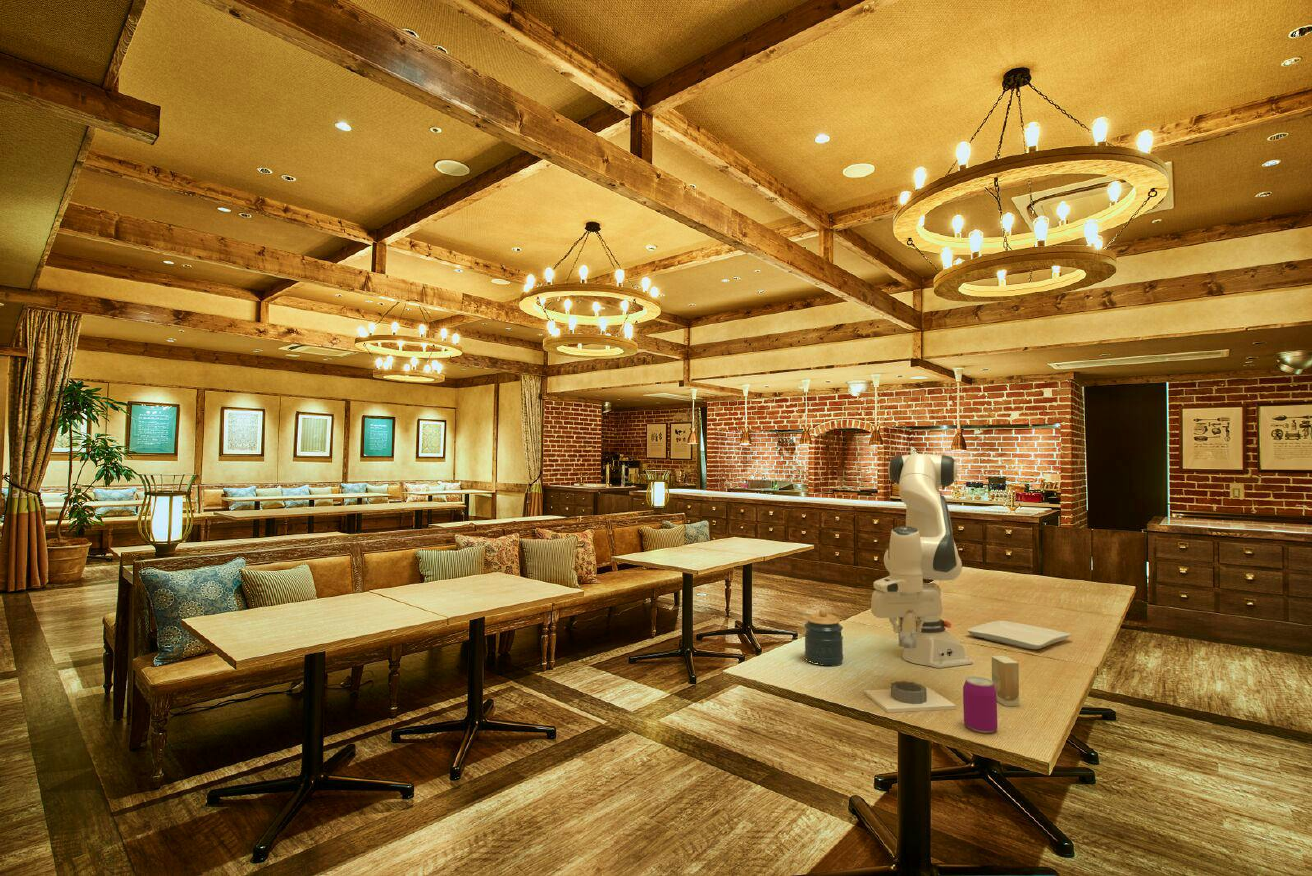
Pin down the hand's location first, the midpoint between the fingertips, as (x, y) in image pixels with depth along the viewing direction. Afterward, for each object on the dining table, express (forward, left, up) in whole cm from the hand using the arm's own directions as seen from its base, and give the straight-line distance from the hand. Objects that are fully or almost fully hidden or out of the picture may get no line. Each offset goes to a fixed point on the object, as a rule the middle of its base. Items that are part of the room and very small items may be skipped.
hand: (907, 632), depth 175 cm
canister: (+10, -38, -20) cm, 44 cm away
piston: (0, 0, -4) cm, 4 cm away
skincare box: (-27, +4, -20) cm, 34 cm away
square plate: (-75, -54, -20) cm, 95 cm away
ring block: (0, 0, -20) cm, 20 cm away
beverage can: (-9, +19, -20) cm, 29 cm away
